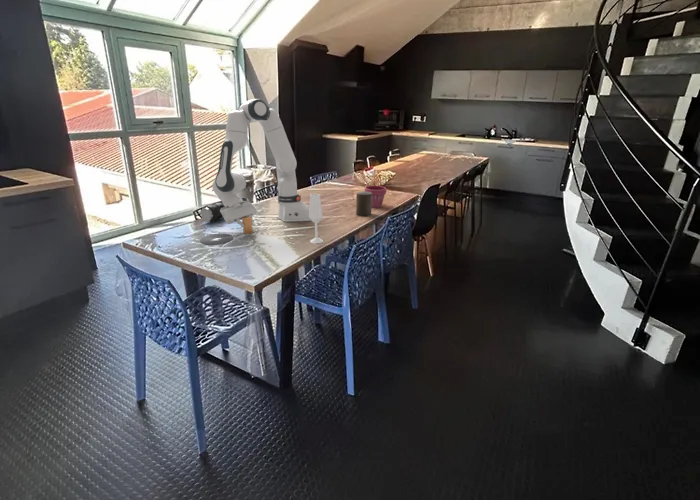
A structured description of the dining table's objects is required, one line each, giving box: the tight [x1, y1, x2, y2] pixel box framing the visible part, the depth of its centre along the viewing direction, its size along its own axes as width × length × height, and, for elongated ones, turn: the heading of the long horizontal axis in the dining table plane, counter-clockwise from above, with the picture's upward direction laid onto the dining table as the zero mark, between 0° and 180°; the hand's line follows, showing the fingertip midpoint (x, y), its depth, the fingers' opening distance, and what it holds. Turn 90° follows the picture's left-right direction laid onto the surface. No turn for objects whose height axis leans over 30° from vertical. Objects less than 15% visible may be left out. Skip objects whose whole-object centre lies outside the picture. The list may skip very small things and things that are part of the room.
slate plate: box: [199, 232, 234, 246], centre depth 196 cm, size 16×16×1 cm
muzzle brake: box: [200, 201, 225, 223], centre depth 230 cm, size 10×28×10 cm, turn 155°
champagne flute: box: [308, 193, 324, 244], centre depth 188 cm, size 7×7×24 cm
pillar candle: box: [355, 190, 372, 217], centre depth 236 cm, size 10×10×15 cm
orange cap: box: [241, 217, 254, 235], centre depth 205 cm, size 5×5×8 cm
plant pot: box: [364, 185, 387, 209], centre depth 254 cm, size 14×14×13 cm
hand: (248, 224), depth 205 cm, fingers closed on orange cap, 5 cm apart
